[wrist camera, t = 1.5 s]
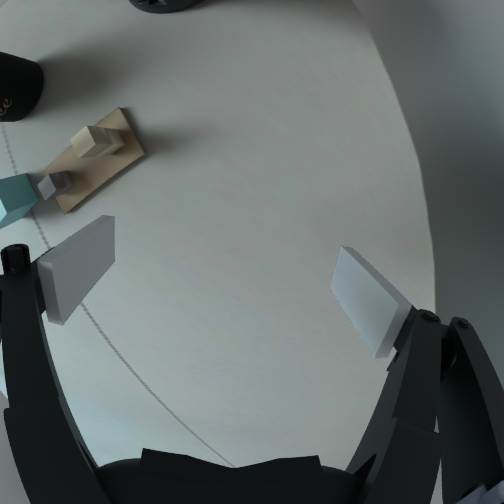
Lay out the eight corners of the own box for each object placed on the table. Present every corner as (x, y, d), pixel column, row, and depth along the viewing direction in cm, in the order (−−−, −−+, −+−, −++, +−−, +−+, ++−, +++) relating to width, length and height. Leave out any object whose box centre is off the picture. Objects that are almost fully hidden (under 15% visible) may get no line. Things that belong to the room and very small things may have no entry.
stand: (46, 171, 33) (6, 181, 24) (121, 108, 32) (88, 97, 22) (68, 212, 36) (31, 232, 26) (146, 153, 34) (119, 155, 25)
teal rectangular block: (9, 192, 33) (-22, 203, 25) (25, 173, 33) (-7, 181, 25) (22, 218, 35) (-9, 233, 27) (39, 200, 34) (6, 213, 26)
